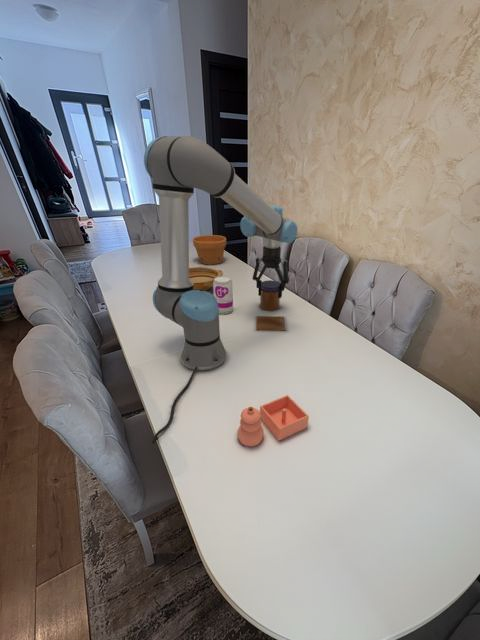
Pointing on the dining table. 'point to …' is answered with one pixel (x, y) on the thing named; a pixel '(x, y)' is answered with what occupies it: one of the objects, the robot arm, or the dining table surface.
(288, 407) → the pottery
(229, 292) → the supplement can
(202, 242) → the flower pot
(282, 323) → the coaster
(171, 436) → the dining table surface
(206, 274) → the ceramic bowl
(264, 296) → the jar
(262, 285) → the jar lid
